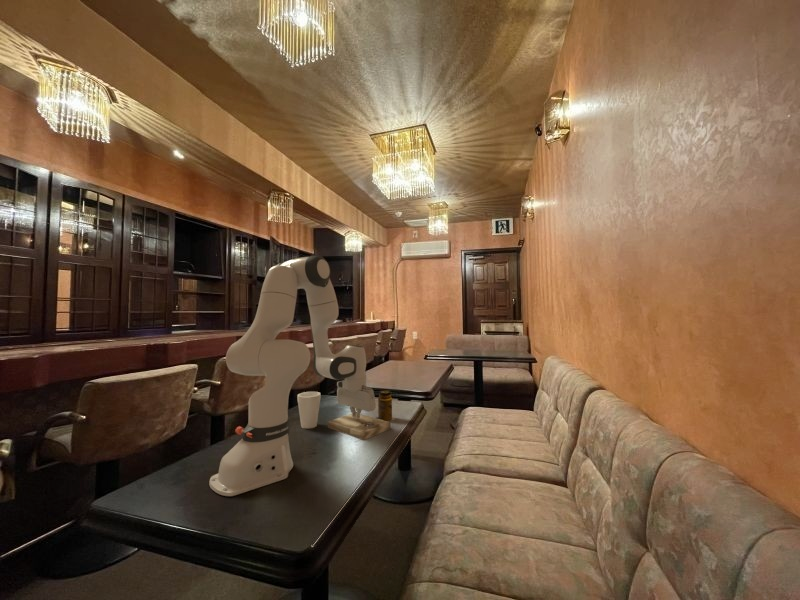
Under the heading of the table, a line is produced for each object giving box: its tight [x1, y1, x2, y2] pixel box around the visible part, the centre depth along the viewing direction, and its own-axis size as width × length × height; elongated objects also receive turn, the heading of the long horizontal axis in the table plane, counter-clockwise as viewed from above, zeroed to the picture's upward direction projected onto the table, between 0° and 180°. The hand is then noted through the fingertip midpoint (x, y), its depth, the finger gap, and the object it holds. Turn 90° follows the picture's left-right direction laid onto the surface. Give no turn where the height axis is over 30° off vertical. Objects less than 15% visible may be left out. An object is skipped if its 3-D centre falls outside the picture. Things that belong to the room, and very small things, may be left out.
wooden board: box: [327, 413, 392, 441], centre depth 133 cm, size 15×21×2 cm
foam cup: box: [296, 391, 322, 430], centre depth 137 cm, size 10×9×13 cm
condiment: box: [376, 390, 396, 422], centre depth 144 cm, size 7×8×12 cm
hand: (355, 418), depth 135 cm, fingers closed
